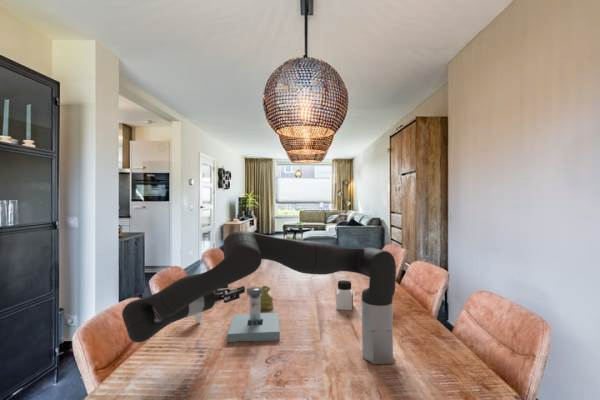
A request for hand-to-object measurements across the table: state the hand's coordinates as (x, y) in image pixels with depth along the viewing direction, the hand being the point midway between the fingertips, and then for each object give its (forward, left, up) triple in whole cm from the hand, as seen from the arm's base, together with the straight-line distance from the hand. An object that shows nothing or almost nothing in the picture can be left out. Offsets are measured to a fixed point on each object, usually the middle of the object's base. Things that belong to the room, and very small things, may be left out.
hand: (235, 287), depth 104 cm
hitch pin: (+7, -6, -19) cm, 21 cm away
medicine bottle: (+28, -45, -19) cm, 56 cm away
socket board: (+8, -6, -19) cm, 21 cm away
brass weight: (+31, -9, -19) cm, 37 cm away
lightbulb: (+17, +17, -19) cm, 30 cm away
